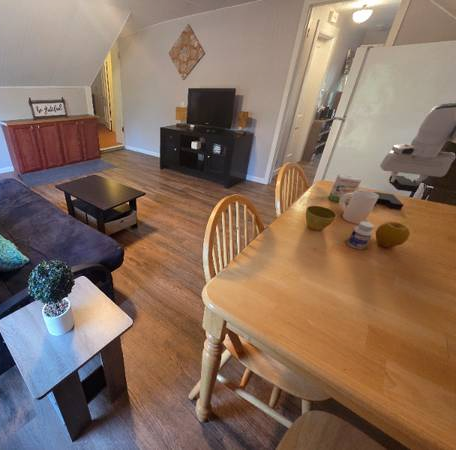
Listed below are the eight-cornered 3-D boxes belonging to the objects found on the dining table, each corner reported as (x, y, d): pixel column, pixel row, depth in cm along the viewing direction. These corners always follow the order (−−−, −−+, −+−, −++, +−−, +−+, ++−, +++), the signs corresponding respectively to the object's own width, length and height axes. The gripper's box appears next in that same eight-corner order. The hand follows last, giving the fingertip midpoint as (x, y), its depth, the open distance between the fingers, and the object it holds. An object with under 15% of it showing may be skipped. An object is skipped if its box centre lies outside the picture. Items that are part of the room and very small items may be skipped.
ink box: (330, 200, 119) (339, 177, 113) (328, 196, 123) (337, 174, 117) (350, 203, 116) (361, 180, 110) (348, 199, 120) (359, 176, 114)
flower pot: (327, 237, 92) (335, 221, 88) (298, 228, 97) (304, 212, 93) (330, 226, 99) (338, 210, 95) (303, 218, 104) (309, 203, 100)
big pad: (390, 198, 121) (393, 194, 120) (400, 209, 111) (403, 204, 110) (357, 194, 125) (359, 189, 124) (364, 204, 116) (366, 199, 114)
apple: (403, 255, 83) (418, 233, 79) (372, 247, 87) (385, 226, 82) (397, 242, 90) (410, 221, 85) (368, 235, 93) (380, 215, 88)
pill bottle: (349, 239, 91) (359, 218, 87) (366, 245, 88) (378, 224, 83) (345, 244, 88) (356, 224, 83) (362, 251, 85) (375, 230, 80)
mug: (340, 209, 111) (351, 184, 105) (369, 221, 103) (383, 195, 96) (329, 213, 108) (340, 188, 102) (358, 225, 99) (372, 199, 93)
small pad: (402, 181, 108) (405, 176, 106) (415, 192, 98) (419, 186, 97) (386, 179, 109) (389, 174, 108) (397, 189, 100) (400, 184, 99)
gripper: (453, 150, 94) (431, 184, 101) (388, 145, 100) (372, 177, 107) (463, 155, 89) (439, 190, 96) (394, 149, 95) (377, 182, 102)
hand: (403, 183), depth 102 cm, fingers closed on small pad, 6 cm apart
